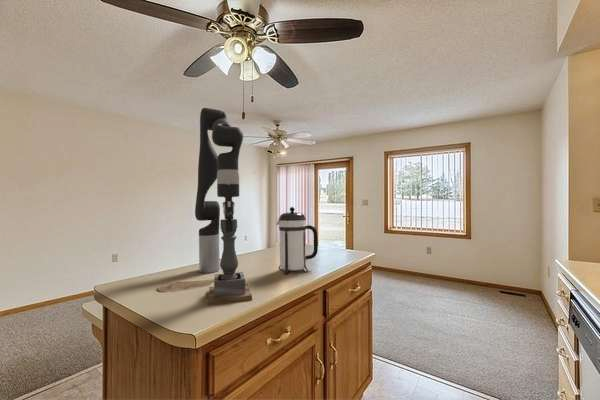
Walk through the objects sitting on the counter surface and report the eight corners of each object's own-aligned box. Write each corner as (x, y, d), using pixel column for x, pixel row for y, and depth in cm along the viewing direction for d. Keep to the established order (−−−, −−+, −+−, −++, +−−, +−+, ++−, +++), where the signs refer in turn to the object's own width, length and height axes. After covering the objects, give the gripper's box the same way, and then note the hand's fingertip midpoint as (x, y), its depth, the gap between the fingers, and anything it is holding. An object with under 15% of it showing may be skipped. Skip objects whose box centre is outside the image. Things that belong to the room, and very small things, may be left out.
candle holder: (216, 292, 95) (215, 220, 95) (228, 287, 101) (228, 218, 101) (230, 294, 92) (229, 220, 92) (242, 289, 98) (241, 219, 98)
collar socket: (209, 291, 101) (209, 273, 101) (247, 287, 105) (247, 270, 105) (207, 304, 88) (207, 284, 88) (252, 299, 92) (251, 280, 92)
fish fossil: (221, 277, 121) (221, 275, 121) (229, 285, 112) (230, 282, 112) (155, 287, 106) (155, 284, 106) (159, 297, 98) (159, 293, 98)
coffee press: (300, 277, 118) (299, 207, 119) (270, 272, 126) (269, 207, 127) (318, 268, 133) (317, 206, 134) (290, 264, 142) (289, 206, 142)
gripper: (217, 184, 102) (217, 229, 102) (216, 181, 89) (217, 233, 88) (237, 184, 104) (238, 228, 104) (240, 182, 91) (241, 232, 91)
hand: (228, 230), depth 96 cm, fingers open, 6 cm apart
